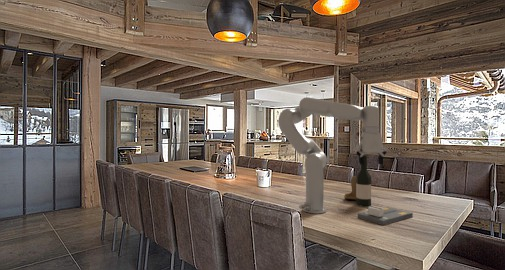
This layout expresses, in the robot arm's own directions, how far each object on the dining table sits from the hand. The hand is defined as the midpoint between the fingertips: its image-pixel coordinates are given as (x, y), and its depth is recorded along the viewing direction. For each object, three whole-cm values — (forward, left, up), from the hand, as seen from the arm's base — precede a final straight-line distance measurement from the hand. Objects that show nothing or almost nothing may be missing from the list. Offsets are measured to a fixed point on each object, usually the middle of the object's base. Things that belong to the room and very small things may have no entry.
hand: (371, 164), depth 149 cm
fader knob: (-1, -3, -24) cm, 25 cm away
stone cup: (+27, +30, -27) cm, 49 cm away
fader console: (+7, -3, -27) cm, 28 cm away
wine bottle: (+19, +19, -27) cm, 38 cm away
